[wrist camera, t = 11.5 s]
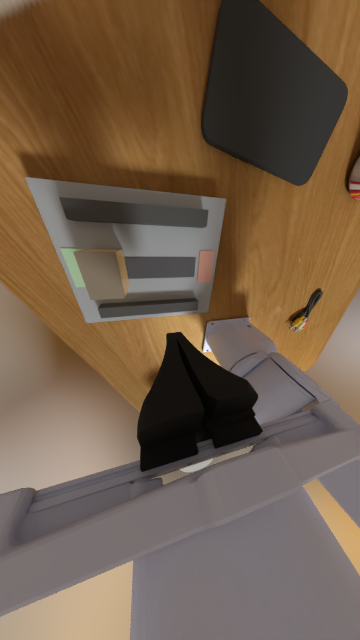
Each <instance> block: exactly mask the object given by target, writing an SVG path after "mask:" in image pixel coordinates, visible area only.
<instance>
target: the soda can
mask: <svg viewBox="0 0 360 640" xmlns="http://www.w3.org/2000/svg"><path fill="white" fill-rule="evenodd" d="M349 190H350V195H351V197H352V198H353V199H355V200H360V156H359V158H358V159H357V161H356V163H355V164H354V167H353V169H352V171H351V174H350V177H349Z"/></svg>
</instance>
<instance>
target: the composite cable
mask: <svg viewBox="0 0 360 640" xmlns="http://www.w3.org/2000/svg"><path fill="white" fill-rule="evenodd" d="M322 294H323V291H316V292H315V293H314V294H313V295H312V297H311V299H310V301H309V304H308V306H307V307H306V309H305V310H304V311H302V312H301V313H300V314H299V315H298V316H297V317H296V318H295V319H294V320H293V322H292V324H291V327H289V329H291V328H293V327H295V330H294V332H296V331H297V330H298V332H300V330H301V329H303V328H304V327H305V325H306V323H307V320H308V316H309V314H310V312H311V310H312V309H313V307H314V306H315V305H316V303H317V302H318V301H319V299H320V298H321V296H322ZM315 298H316V299H315Z"/></svg>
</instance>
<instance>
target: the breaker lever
mask: <svg viewBox="0 0 360 640" xmlns="http://www.w3.org/2000/svg"><path fill="white" fill-rule="evenodd" d="M73 253H74V256H75V259H76V261H77V264H78V267H79V270H80V272H81V275H82V278H83V281H84V283H85V286H86V289H87V292H88V294H89V297H90V300H103V299H121V298H125V296H126V294H127V291H128V288H129V281H128V275H127V270H126V264H125V259H124V253H123V249H88V250H82V251H75V252H73Z"/></svg>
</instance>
